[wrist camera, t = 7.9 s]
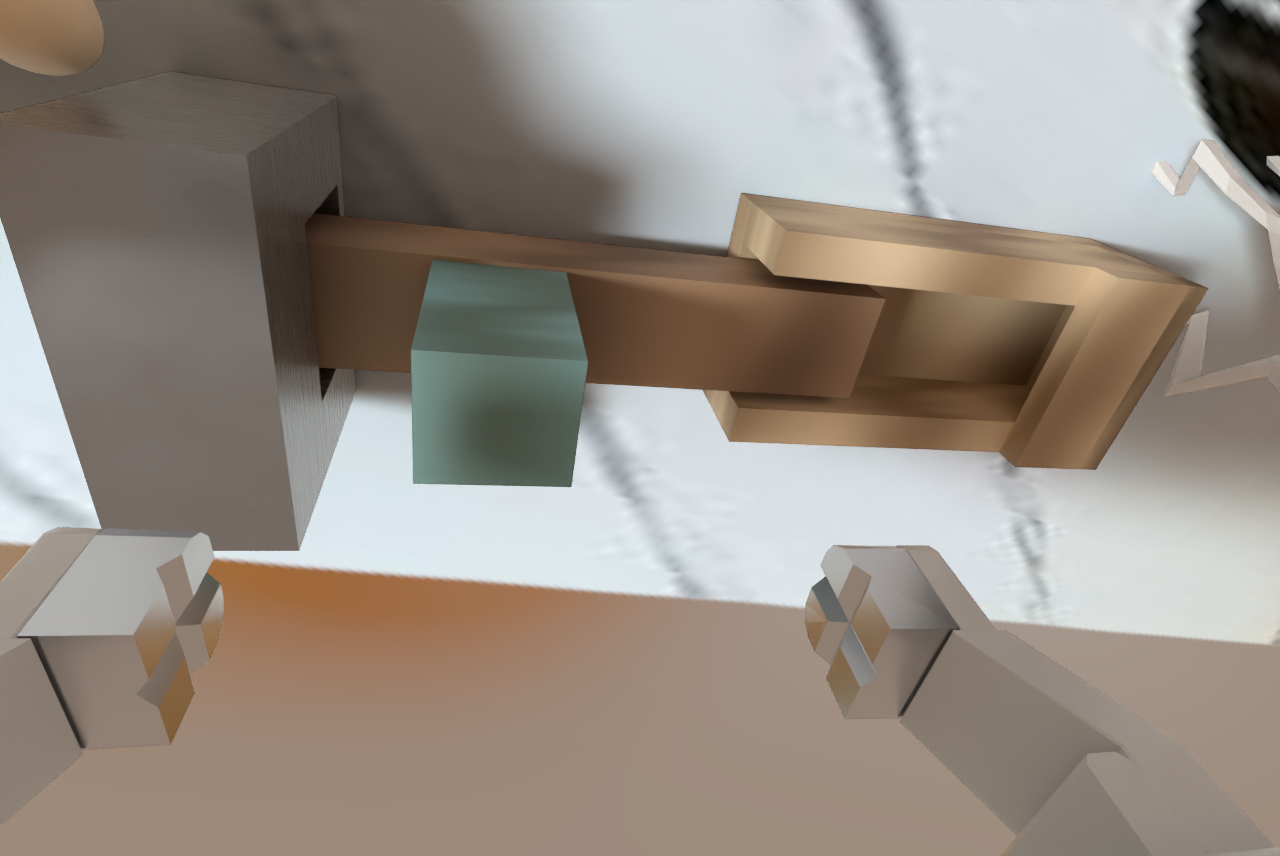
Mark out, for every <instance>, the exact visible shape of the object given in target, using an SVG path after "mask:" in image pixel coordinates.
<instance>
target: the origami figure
mask: <svg viewBox="0 0 1280 856" xmlns="http://www.w3.org/2000/svg"><path fill="white" fill-rule="evenodd" d="M1267 166H1268V167H1270V168H1271V169H1272V170H1273V171H1274V172H1275V173H1276V174H1278V175H1279V176H1280V157H1279V156H1267ZM1200 167H1201V168H1202V169H1203V170H1204V171H1205V172H1206V173H1207V175H1208V176H1209V177H1210V178H1211V179H1212V180H1213V181H1214V182H1215V183H1216V185H1217V186H1218V187H1219V188H1220V189H1221V190H1222V191H1223V192H1224V193H1225V194H1226V195H1227V196H1228V197H1229V198H1230V199H1232V200H1233V201H1234V202H1235V203H1236V204H1237V205H1239V206H1240V207H1241V208H1242V209H1243V210H1245V211H1246V212H1247V213H1248V214H1249V215H1251V216H1252V217H1253V218H1254V219H1255V220H1257V221H1258V222H1259V223H1260V224H1261V225H1263V226H1264V227H1265V228H1266V229H1267V230H1268V233H1269V239H1270V244H1271V250H1272V256H1273V262H1274V267H1275V271H1276V275H1277V280H1278V284H1279V288H1280V216H1279V215H1278V214H1277V213H1276V212H1275V211H1274V210H1273V209H1272V208H1271V207H1270V206H1269V205H1268V204H1267V203H1266V202H1265V201H1264V200H1263V199H1262V198H1261V197H1260V196H1259V195H1258V194H1257V193H1256V192H1255V191H1254V190H1253V189H1252V188H1251V187H1250V186H1249V185H1248V184H1247V183H1246V182H1245V181H1244V180H1243V179H1242V177H1241V176H1240V175H1239V173H1238V172H1237V171H1236V169H1235V168H1234V167H1233V165H1232V164H1231V163H1230V161H1229V160H1228V159H1227V157H1226V156H1225V155H1224V153H1223V152H1222V151H1221V149H1220V148H1219V147H1218V145H1217V144H1216V143H1215V141H1211V140H1201V142H1200V144H1199V146H1198V147H1197V149H1196V151H1195V153H1194V155H1193V157H1192V158H1191V160H1190V162H1189V164H1188V166H1187V167H1186V169H1185V171H1184V173H1183V175H1182V177H1181V178H1180V179H1179V177H1178V176H1177V175H1176V173H1175V172H1174V171H1173V169H1172V168H1171V166H1170V165H1169V164H1168V162H1167V161H1157V163H1156V165H1155V167H1154V169H1153V171H1152V174H1153V175H1154V176H1155V177H1156V178H1157V179H1158V180H1159V182H1160V183H1161V184H1162V185H1163V186H1164V187H1165V188H1166V189H1167V190H1168V191H1169V192H1170V193H1171V194H1172V195H1173V196H1181V195H1185V194H1186V192H1187V190H1188V188H1189V186H1190V185H1191V183H1192V181H1193V179H1194V177H1195V175H1196V174H1197V172H1198V170H1199V168H1200ZM1208 318H1209V310H1207V311H1203V312H1200V313H1197V314H1193V315H1192V316H1191V317H1190V319H1189V320H1188V322H1187V324H1186V325H1188V324H1189V325H1188V328H1187V331H1186V334H1185V337H1184V340H1183V343H1182V346H1181V349H1180V352H1179V354H1178V357H1177V360H1176V363H1175V366H1174V369H1173V372H1172V375H1171V378H1170V381H1169V384H1168V386H1167V389H1166V392H1165V395H1164V397H1169V396H1174V395H1179V394H1184V393H1189V392H1194V391H1199V390H1204V389H1209V388H1214V387H1219V386H1224V385H1229V384H1234V383H1239V382H1245V381H1250V380H1255V379H1260V378H1265V377H1267V378H1268V380H1269V381H1270V382H1271V383H1272V385H1273V386H1274V387H1275V388H1276V389H1277V391H1279V390H1280V354H1279V355H1275V356H1271V357H1268V358H1264V359H1260V360H1257V361H1253V362H1249V363H1246V364H1242V365H1239V366H1235V367H1231V368H1228V369H1224V370H1220V371H1217V372H1213V373H1209V374H1206V375H1202V368H1203V359H1204V351H1205V343H1206V334H1207V326H1208Z"/></svg>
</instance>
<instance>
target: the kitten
mask: <svg viewBox="0 0 1280 856" xmlns="http://www.w3.org/2000/svg"><path fill="white" fill-rule="evenodd" d="M103 48H104V29H103V23H102V20H101V17H100V14H99V12H98V9H97V7H96V5H95V3H94V1H93V0H0V59H2V60H3V61H5V62H7V63H9V64H11V65H13V66H16V67H18V68H21V69H24V70H27V71H30V72H34V73H39V74H44V75H52V76H67V75H73V74H78V73H81V72H83V71H86V70H88V69H89V68H91V67H92V66H93V65H94V64H95V63H96V62H97V61H98V59H99V58H100V56H101V54H102V52H103Z"/></svg>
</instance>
